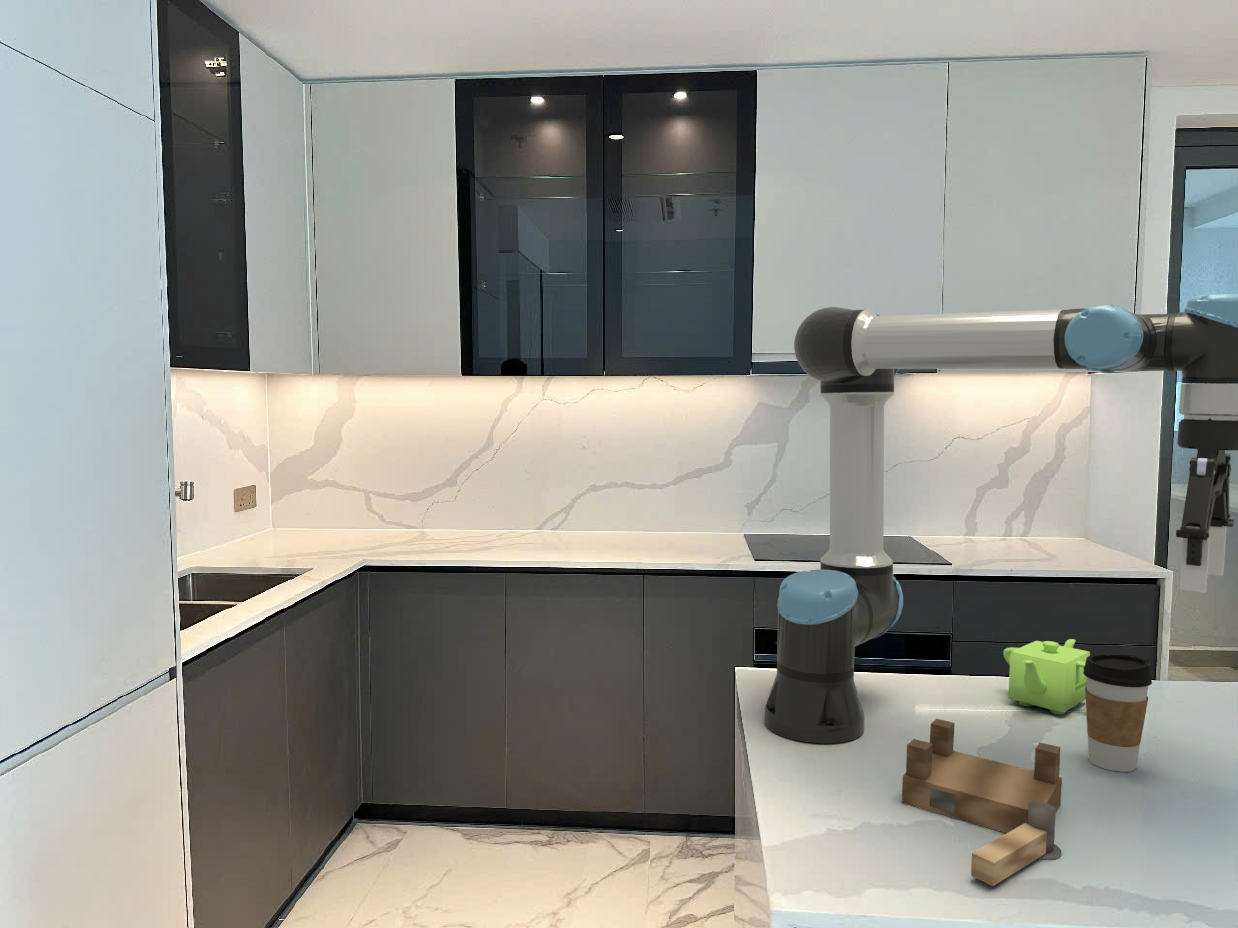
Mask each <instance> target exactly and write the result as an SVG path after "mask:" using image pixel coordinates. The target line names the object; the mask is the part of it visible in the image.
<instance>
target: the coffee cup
mask: <svg viewBox="0 0 1238 928" xmlns="http://www.w3.org/2000/svg"><path fill="white" fill-rule="evenodd" d="M1151 666H1152V665H1151V661H1150V660H1148V659H1147V658H1144V657H1141V656H1138V655H1135V654H1134V655H1133V654H1124V653H1099V654H1098V653H1097V654H1090V656H1088V657H1087V659H1086V663H1085V666H1084V667H1083V669H1084V671H1083V674H1084V675H1085V676H1086V681H1087V686H1086V688H1085V696H1086V699H1085V712H1086V728H1087V729H1086V731H1087V746H1088V748H1087V750H1088V752H1087V753H1088V761H1089V762H1090V763H1091V764H1093V765H1094V766H1096V767H1099V768H1101V769H1105V770H1108V771H1113V772H1119V773H1120V772H1122V773H1125V772H1126V773H1127V772H1134V771H1135V770H1136V769H1137V767H1138V759H1139V754H1140V753H1139V752H1140V746H1141V743H1142V742H1141V741H1142V736H1143V730H1144V724H1145V720H1146V719H1145V718H1146V714H1147V713H1146V712H1147V707H1148V702H1149V696H1148V690H1149V686H1151V685H1152V684H1153V681H1152V680H1153V675H1152V669H1151Z"/></svg>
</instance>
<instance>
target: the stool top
mask: <svg viewBox="0 0 1238 928" xmlns="http://www.w3.org/2000/svg"><path fill="white" fill-rule="evenodd" d="M929 733H930V734H929V742H927V741H924V740H919V739H916V738H912V739H911V741H910V742H908V743H907V744H906V761H905V763H906V765H905V773H904V774H903V775H902V783H901V784H902V786H901V803H903V804H906V805H909V806H913V807H917V808H919V807H920V809H923V810H926V811H929V810H930V812H933V813H936V814H940V815H943V816H947V817H950V818H953V819H957V820H961V821H963V822H967V823H971V824H974V825H978V826H981V827H984V828H988V829H992V830H994V831H998V832H1001V833H1004V834H1006V833H1008V832H1010V831H1012V830H1014V829H1015V828H1017V827H1019V826H1021V825H1022V824H1024V823H1026V824H1028V805H1029V803H1030V802H1035V801H1037V802H1044V803H1047V804H1050V805H1052V806H1053V807H1055V809H1056V813H1057V812H1058V810H1059V808H1060V806H1061V803H1062V786H1063V777H1060V767H1061V766H1060V765H1061V763H1060V762H1061V761H1060V760H1061V746H1058V745H1052V744H1049V743H1044V742H1039V743H1038V744H1037V745H1036V747H1035V749H1034V750H1035V751H1034V767H1033V769H1034V770H1032V769H1028V768H1024V767H1020V766H1016V765H1014V764H1009V763H1004V762H1000V761H996V760H991V759H988V758H985V757H981V756H976V755H971V754H968V753H964V752H960V751H956V750H954V745H955V743H954V741H955V722H952V721H948V720H944V719H941V718H940V719H939V718H935V719H934V720H933V721H932V722H931V723H930V732H929ZM1062 851H1063V850H1062V849H1061V847H1059V846H1058V845H1057V844H1055V843H1054V849H1053V850H1052V851H1049V852H1046V853H1045V854H1044V855H1042V856H1041V857H1039V858H1038V859H1039V860H1047V861H1053V860H1057V859H1060V858H1061V857H1062V855H1063V854H1062V853H1063V852H1062Z"/></svg>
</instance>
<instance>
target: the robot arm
mask: <svg viewBox="0 0 1238 928" xmlns="http://www.w3.org/2000/svg"><path fill="white" fill-rule="evenodd" d="M793 349H794V356H795V359H796V360H797V363H798V365H799V367H801V369H802V370H803V371H804V372H805V373H806V374H807V375H808V376H809V377H811V378H812V379H815V380H817V381H820V386H819V387H820V396H821V397H822V399H824V400H825V401H826V402H827V404H828V405H829V548H828V551H827V552H825V553H824V554H823V555H822V556H821V557H820V565H819V566H820V568H819V569H810V570H807V571H806V570H802V571H798V572H795V573H792V574H790V575H788V576H786V577H785V578H784V579H783V580H782V582H781V583H780V586H779V590H778V591H779V592H778V598H777V604H776V605H777V607H776V608H777V648H776V649H777V653H776V655H777V657H776V659H777V661H776V674H775V678H774V680H773V684H772V685H771V689H770V691H769V694H768V697H767V700H766V702H765V705H764V720H763V721H764V725H765V726H766V728H768V729H769V730H771V731H772V732H773V733H775V734H776V735H779V736H782V737H784V738H788V739H790V740H795V741H798V742H799V741H800V742H803V743H805V742H806V743H813V744H840V743H846V742H849V741H850V742H851V741H853V740H855V739H857V738H859V737H861V736H862V735H863V734H864V731H865V714H864V709H863V707H862V703H861V700H860V697H859V693H858V689H857V687H856V683H855V677H854V676H855V652H856V648H855V647H857V646H860V645H862V644H864V643H866V642H868V641H869V640H874V639H878V637H881V636H883V635H884V634H885V633H887V632H888V631H889V630H890V629H891V628H892V627H893V626H895V624H896V623H897V622H898V621H899V618H900V616H901V615H902V610H903V609H904V608H903V607H904V594H903V590H902V587H901V584H900V582H899V581H898V580H897V579H896V577H895V576H894V561H893V559H892V558H891V557H890V556H889V555H888V554H887V553H886V552H885V549H884V530H885V529H884V527H885V526H884V523H885V522H884V517H885V516H884V515H885V513H884V511H885V510H884V509H885V508H884V505H885V502H884V500H885V499H884V498H885V497H884V496H885V495H884V493H885V492H884V491H885V490H884V489H885V488H884V485H885V482H884V481H885V480H884V479H885V477H884V476H885V470H884V469H885V454H884V453H885V405H886V403H888V402H887V401H889V400H890V399H891V398H892V397H893V396H894V395H895V375H896V374H897V373H898V372H899V370H950V369H951V370H958V369H959V370H963V369H964V370H965V369H966V370H967V369H968V370H970V369H971V370H977V369H978V370H982V369H983V370H984V369H985V370H988V369H989V370H993V369H994V370H996V369H997V370H1008V369H1010V370H1017V369H1018V370H1019V369H1020V370H1021V369H1022V370H1025V369H1026V370H1032V369H1033V370H1036V369H1037V370H1038V369H1039V370H1041V369H1043V370H1045V369H1046V370H1048V369H1050V370H1053V369H1055V370H1056V369H1057V370H1058V369H1059V370H1061V369H1063V370H1085V371H1088V372H1090V371H1091V372H1101V373H1108V374H1109V373H1111V374H1112V373H1115V372H1162V371H1163V372H1166V371H1167V372H1175V371H1176V372H1177V371H1178V372H1181V384H1180V391H1179V404H1178V405H1179V407H1178V413H1179V414H1180V415H1182V416H1183V418H1181V419H1180V421H1178V427H1177V429H1178V430H1177V443H1176V444H1177V446H1178V447H1179V448H1182V449H1191V450H1197V453H1196V457H1191V458H1190V460H1189V469H1188V470H1189V472H1188V473H1189V475H1188V482H1187V488H1186V494H1185V495H1186V496H1185V500H1184V506H1183V512H1182V519H1181V527H1180V528H1179V529H1176V530H1175V531H1176V532H1175V537H1176V538H1182V545H1181V546H1182V549H1181V550H1182V551H1181V561H1180V562H1181V564H1180V577H1179V578H1180V579H1179V590H1181V591H1187V592H1188V591H1189V592H1196V593H1202V594H1206V593H1207V587H1208V576H1209V575H1210V576H1217V577H1223V576H1224V571H1225V570H1224V569H1225V559H1226V557H1225V555H1226V542H1227V541H1226V540H1227V528H1228V527H1230V528H1233V527H1234V522H1235V519H1234V518H1231V514H1230V475H1231V471H1232V465H1231V463H1230V462H1231V460H1232V456H1231V454H1230V453H1226V451H1231V452H1232V451H1238V293H1219V294H1217V293H1215V294H1207V295H1197V296H1192V297H1190V298H1188V300H1187V303H1186V307H1185V308H1184V311H1183V312H1181V311H1180V312H1177V313H1175V312H1174V313H1157V314H1155V313H1153V314H1152V313H1151V314H1150V313H1148V314H1145V313H1144V314H1142V313H1141V314H1139V313H1138V314H1137V313H1134V312H1133V311H1132V312H1131V311H1129V310H1128V309H1126V308H1124V307H1120V306H1118V305H1116V304H1115V305H1113V304H1110V305H1109V304H1099V305H1093V306H1090V307H1087V308H1071V309H1070V308H1069V309H1064V308H1062V309H1061V308H1060V309H1057V308H1056V309H1038V310H1037V309H1036V310H1034V309H1033V310H1031V309H1030V310H1010V311H1009V310H1006V311H1005V310H1004V311H983V312H982V311H980V312H979V311H978V312H976V311H975V312H956V313H955V312H954V313H952V312H951V313H928V314H926V313H925V314H924V313H923V314H905V315H904V314H901V315H899V314H898V315H897V314H896V315H880V314H878V313H876V312H875V311H873V309H849V308H843V307H837V306H829V307H825V308H824V307H823V308H820V309H818V310H816V311H814V312H812V313H811V314H810V315H808V316H806V318H805V319H804V320H803V321H802V322H801V323H800V325H799V327H798V328H797V330H796V334H795V336H794V341H793Z"/></svg>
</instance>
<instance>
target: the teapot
mask: <svg viewBox="0 0 1238 928" xmlns="http://www.w3.org/2000/svg"><path fill="white" fill-rule="evenodd" d="M1075 643H1076V639H1073V638H1069V639H1067V640H1066V641H1065V643H1064V645H1061V644H1059V643H1058V642H1055V641H1052V640H1051V641H1050V640H1045V641H1041V640H1035V641H1032V642H1030V643H1027V644H1026V645H1023V646H1021V647H1006V648H1005V649H1004V650H1003V651H1002V653H1003V654H1002V655H1003V657H1004V659H1005V661H1006V663H1007V664H1008V665H1009V673H1008V674H1009V676H1008V677H1009V678H1008V693H1007V695H1008V696H1007V698H1008V699H1009V700H1013V701H1016V702H1018V704H1019V705H1020V706H1024V707H1032V706H1036V707H1039V708H1044V709H1046V710H1050V711H1049V712H1050V713H1051V712H1052V714H1054V715H1058V714H1063V715H1065V712H1067V711H1068V710H1070V709H1072V708H1076V707H1077V705H1078V704H1080V703H1082V702H1084V701H1086V696H1085V688H1086V686H1087V681H1086V676H1085V675H1084V674H1083V671H1084V669H1083V667H1084V666H1085V663H1086V659H1087V657H1088V656H1090V655H1091V652H1090V651H1088V650H1082V649H1079V648H1074V645H1075ZM1055 713H1056V714H1055Z"/></svg>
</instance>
